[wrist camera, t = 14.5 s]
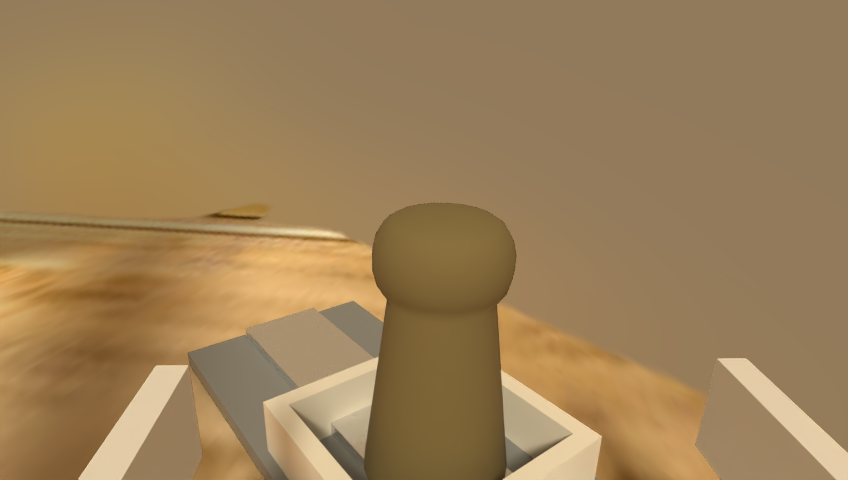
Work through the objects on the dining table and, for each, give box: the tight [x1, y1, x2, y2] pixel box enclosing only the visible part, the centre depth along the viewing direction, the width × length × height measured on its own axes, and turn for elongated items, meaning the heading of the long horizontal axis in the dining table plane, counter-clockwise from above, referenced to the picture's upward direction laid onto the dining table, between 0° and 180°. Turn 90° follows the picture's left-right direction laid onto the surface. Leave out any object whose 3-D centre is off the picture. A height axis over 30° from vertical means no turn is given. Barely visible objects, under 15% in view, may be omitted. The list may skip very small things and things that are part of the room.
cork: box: [364, 203, 516, 480], centre depth 21 cm, size 6×6×11 cm
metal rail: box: [245, 308, 512, 478], centre depth 26 cm, size 23×4×1 cm, turn 38°
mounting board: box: [188, 301, 599, 480], centre depth 26 cm, size 24×11×1 cm, turn 38°
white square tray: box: [263, 357, 602, 480], centre depth 23 cm, size 10×10×3 cm
